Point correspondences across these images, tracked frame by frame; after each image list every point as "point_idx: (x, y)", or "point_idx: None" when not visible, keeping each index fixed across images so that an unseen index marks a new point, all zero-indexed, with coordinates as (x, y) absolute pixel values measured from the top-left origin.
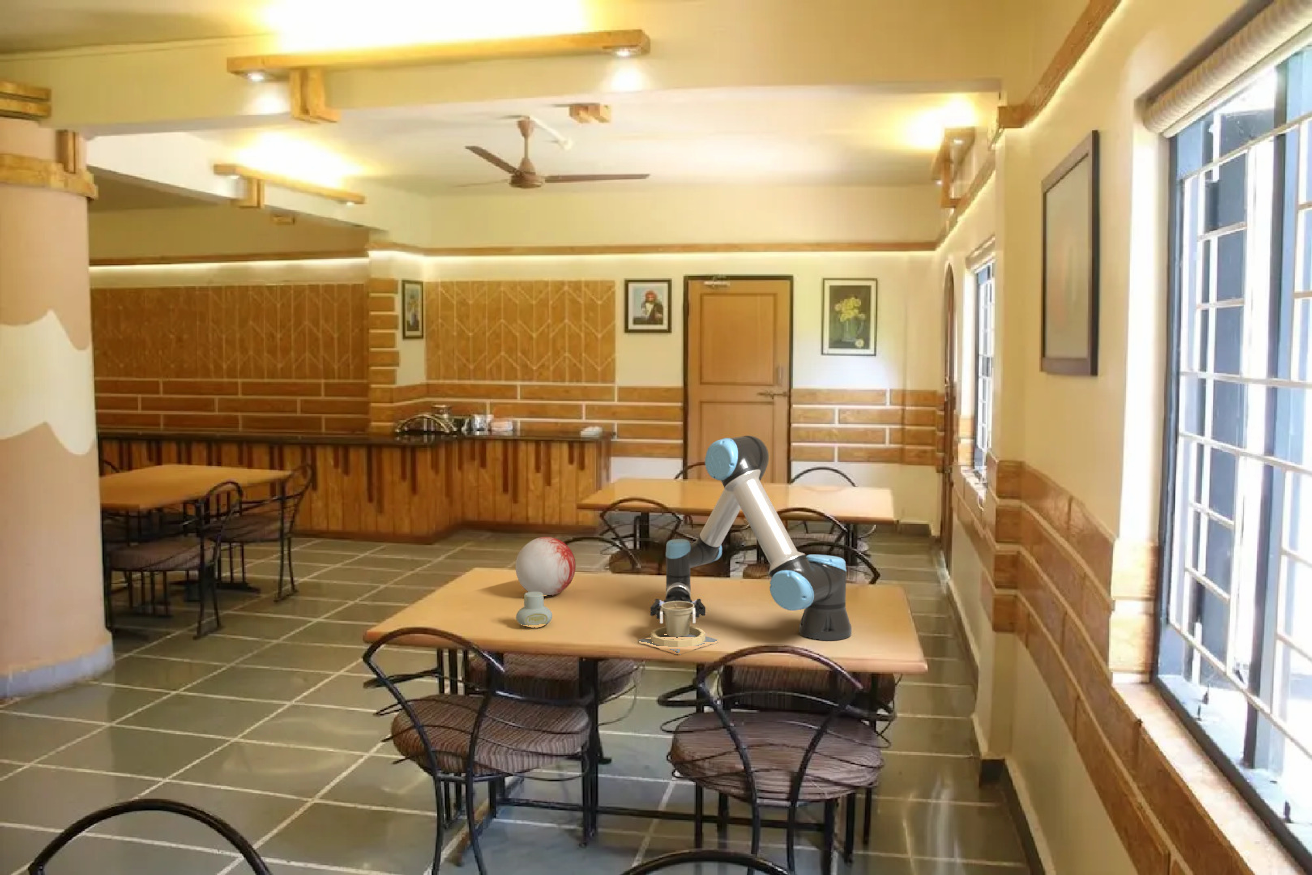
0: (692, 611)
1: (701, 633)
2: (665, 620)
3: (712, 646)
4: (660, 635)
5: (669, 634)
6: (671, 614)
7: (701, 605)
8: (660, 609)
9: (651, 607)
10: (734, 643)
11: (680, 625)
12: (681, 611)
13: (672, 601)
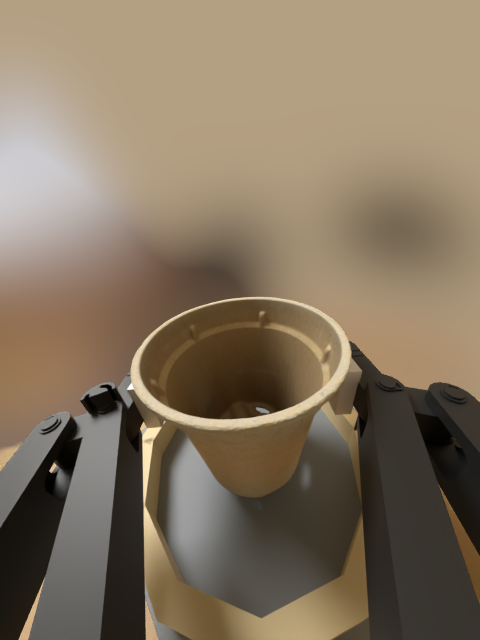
0: (135, 463)
1: (157, 431)
2: (303, 378)
3: (145, 426)
4: (355, 527)
5: (281, 404)
6: (266, 321)
7: (15, 480)
8: None
9: (447, 385)
10: (53, 465)
11: (235, 366)
12: (224, 310)
13: (293, 409)
